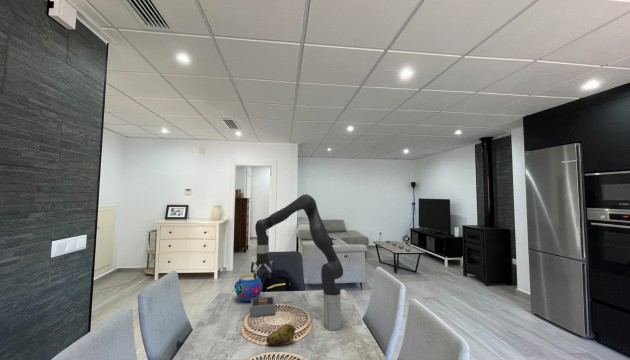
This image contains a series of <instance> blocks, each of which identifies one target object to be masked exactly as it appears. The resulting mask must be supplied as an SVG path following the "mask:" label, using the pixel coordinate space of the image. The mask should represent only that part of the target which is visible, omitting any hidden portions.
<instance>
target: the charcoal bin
mask: <svg viewBox="0 0 630 360" xmlns="http://www.w3.org/2000/svg"><path fill="white" fill-rule="evenodd" d="M260 298H267V305H259V299H260ZM260 316H263V317H272V316H276V301H275V296H264V297H262V296H261V297H258V298H251V301H250V318H251V317H253V318H260Z"/></svg>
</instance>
